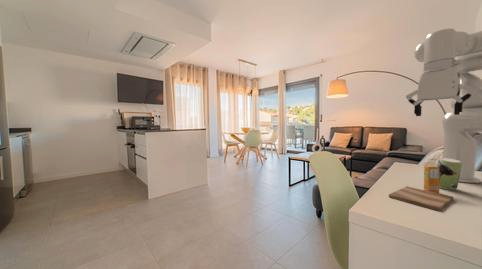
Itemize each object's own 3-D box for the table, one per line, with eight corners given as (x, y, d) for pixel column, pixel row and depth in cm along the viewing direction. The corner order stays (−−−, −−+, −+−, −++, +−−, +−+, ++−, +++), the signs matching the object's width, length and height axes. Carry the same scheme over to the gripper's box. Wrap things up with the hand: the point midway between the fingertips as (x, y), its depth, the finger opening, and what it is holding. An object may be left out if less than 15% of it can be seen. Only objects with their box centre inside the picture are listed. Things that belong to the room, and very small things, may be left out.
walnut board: (406, 188, 71) (406, 186, 71) (453, 199, 61) (453, 196, 61) (388, 197, 63) (388, 194, 63) (438, 211, 52) (438, 207, 52)
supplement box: (422, 190, 69) (423, 164, 69) (433, 191, 68) (435, 165, 68) (427, 193, 66) (428, 166, 66) (439, 194, 65) (441, 167, 65)
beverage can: (446, 185, 74) (447, 157, 74) (466, 192, 67) (468, 160, 67) (429, 185, 75) (430, 156, 74) (447, 191, 68) (449, 160, 67)
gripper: (480, 61, 59) (477, 114, 60) (410, 74, 74) (409, 116, 75) (475, 58, 55) (472, 114, 56) (403, 72, 70) (401, 116, 71)
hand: (436, 115), depth 65 cm, fingers open, 9 cm apart
